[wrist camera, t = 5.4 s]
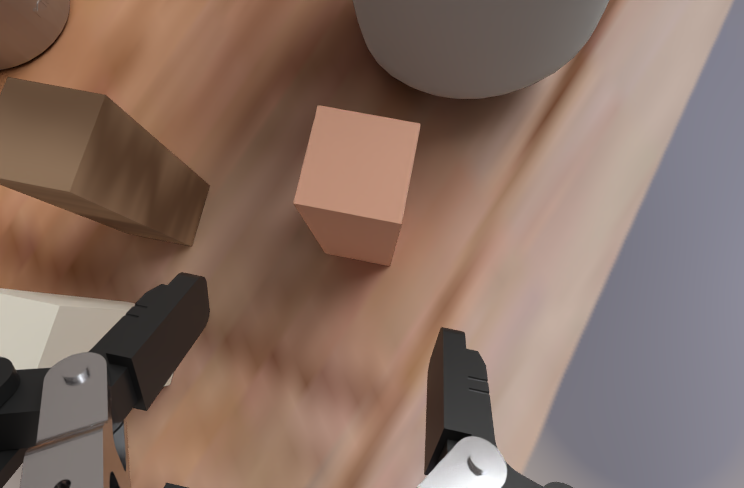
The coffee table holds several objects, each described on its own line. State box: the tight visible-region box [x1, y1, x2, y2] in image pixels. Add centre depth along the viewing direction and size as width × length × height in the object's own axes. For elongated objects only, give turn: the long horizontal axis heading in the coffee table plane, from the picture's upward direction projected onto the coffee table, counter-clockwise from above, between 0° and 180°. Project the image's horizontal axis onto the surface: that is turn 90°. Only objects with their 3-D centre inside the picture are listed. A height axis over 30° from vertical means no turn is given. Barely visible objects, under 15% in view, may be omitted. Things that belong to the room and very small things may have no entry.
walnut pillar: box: [0, 77, 210, 246], centre depth 20 cm, size 4×4×10 cm
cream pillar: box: [0, 288, 174, 386], centre depth 18 cm, size 4×4×10 cm
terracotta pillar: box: [293, 105, 421, 266], centre depth 20 cm, size 4×4×10 cm
